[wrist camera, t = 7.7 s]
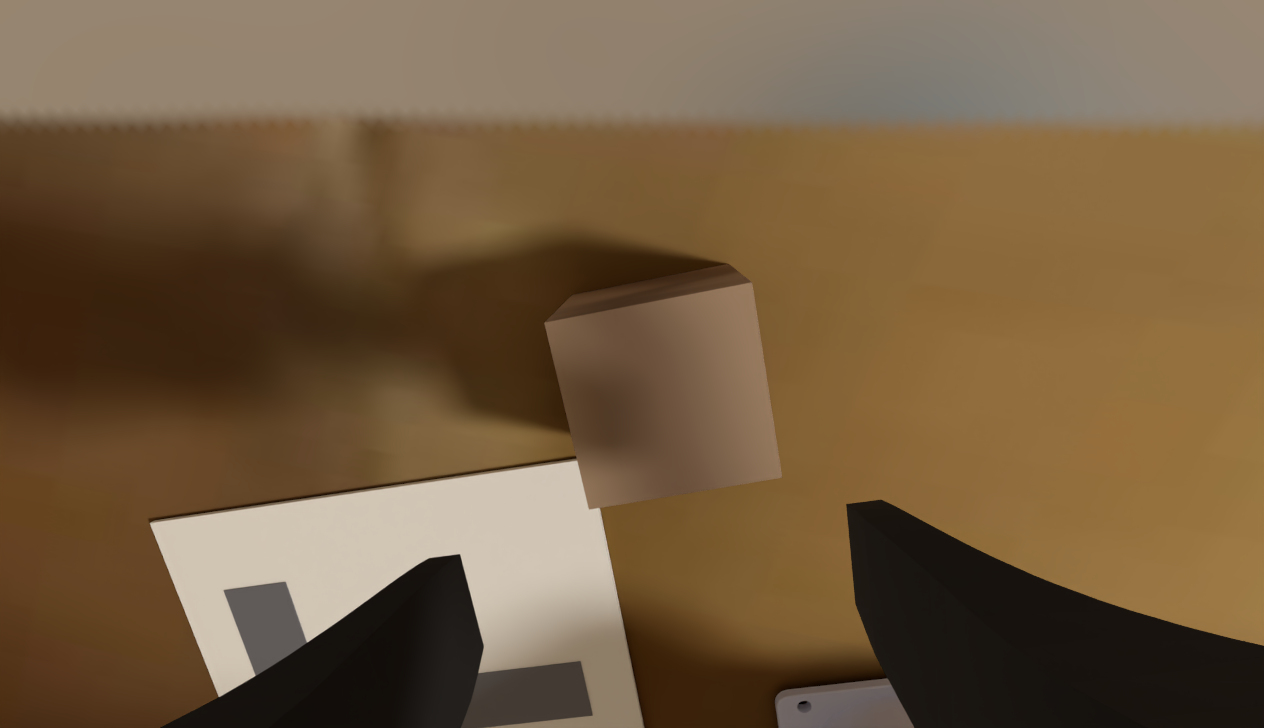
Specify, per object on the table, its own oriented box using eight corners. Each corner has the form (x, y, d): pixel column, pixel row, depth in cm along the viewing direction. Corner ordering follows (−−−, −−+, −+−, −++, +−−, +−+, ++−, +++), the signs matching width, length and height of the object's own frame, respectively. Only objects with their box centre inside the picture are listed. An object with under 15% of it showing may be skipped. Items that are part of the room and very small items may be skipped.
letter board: (589, 456, 21) (588, 459, 21) (672, 863, 25) (672, 869, 25) (154, 520, 22) (149, 523, 22) (303, 896, 26) (299, 902, 26)
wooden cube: (728, 263, 19) (751, 282, 14) (752, 413, 20) (782, 477, 15) (572, 294, 20) (544, 322, 15) (605, 439, 21) (588, 509, 16)
